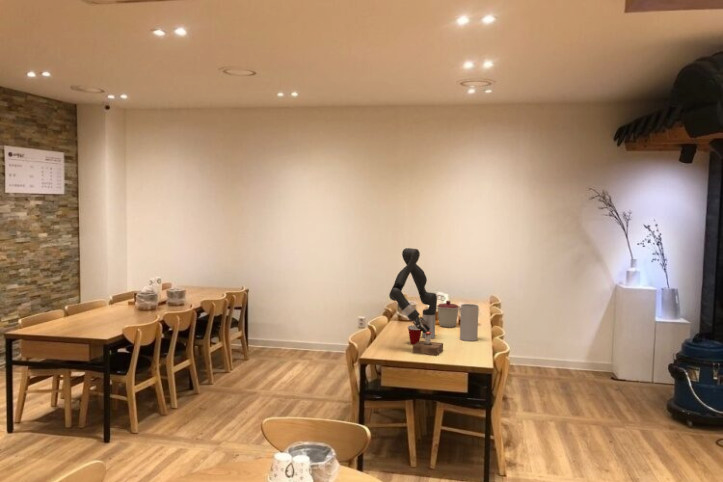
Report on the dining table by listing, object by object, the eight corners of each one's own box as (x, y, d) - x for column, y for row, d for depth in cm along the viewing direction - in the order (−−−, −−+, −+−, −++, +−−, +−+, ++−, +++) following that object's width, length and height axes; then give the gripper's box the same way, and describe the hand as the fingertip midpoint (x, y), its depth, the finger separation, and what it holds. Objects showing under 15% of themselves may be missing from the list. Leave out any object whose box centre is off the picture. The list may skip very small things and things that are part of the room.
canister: (434, 327, 459) (435, 301, 458) (438, 323, 476) (439, 298, 475) (457, 329, 454) (458, 303, 453) (460, 325, 471) (460, 299, 470)
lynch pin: (425, 350, 381) (425, 330, 381) (431, 351, 380) (432, 331, 379) (423, 351, 377) (423, 332, 377) (429, 352, 376) (430, 332, 375)
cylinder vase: (477, 341, 411) (478, 307, 409) (459, 340, 413) (460, 306, 412) (477, 338, 423) (478, 304, 422) (460, 337, 425) (461, 303, 424)
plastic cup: (409, 345, 394) (409, 328, 394) (405, 342, 405) (405, 325, 404) (424, 345, 396) (424, 328, 396) (419, 341, 407) (420, 325, 406)
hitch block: (420, 347, 389) (420, 340, 388) (443, 350, 382) (443, 343, 382) (412, 352, 374) (413, 345, 374) (436, 355, 368) (436, 348, 367)
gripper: (411, 310, 374) (428, 329, 370) (418, 307, 387) (434, 325, 383) (403, 318, 376) (420, 337, 373) (410, 314, 389) (426, 332, 386)
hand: (427, 331), depth 378 cm, fingers open, 8 cm apart
